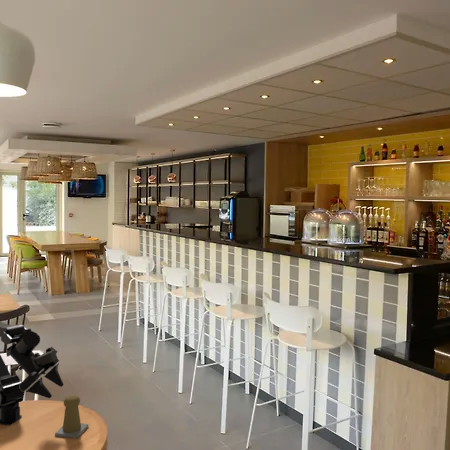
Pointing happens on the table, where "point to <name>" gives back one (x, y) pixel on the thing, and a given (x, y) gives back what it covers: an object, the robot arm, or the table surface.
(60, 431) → the coaster
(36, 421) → the table surface
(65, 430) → the cork
